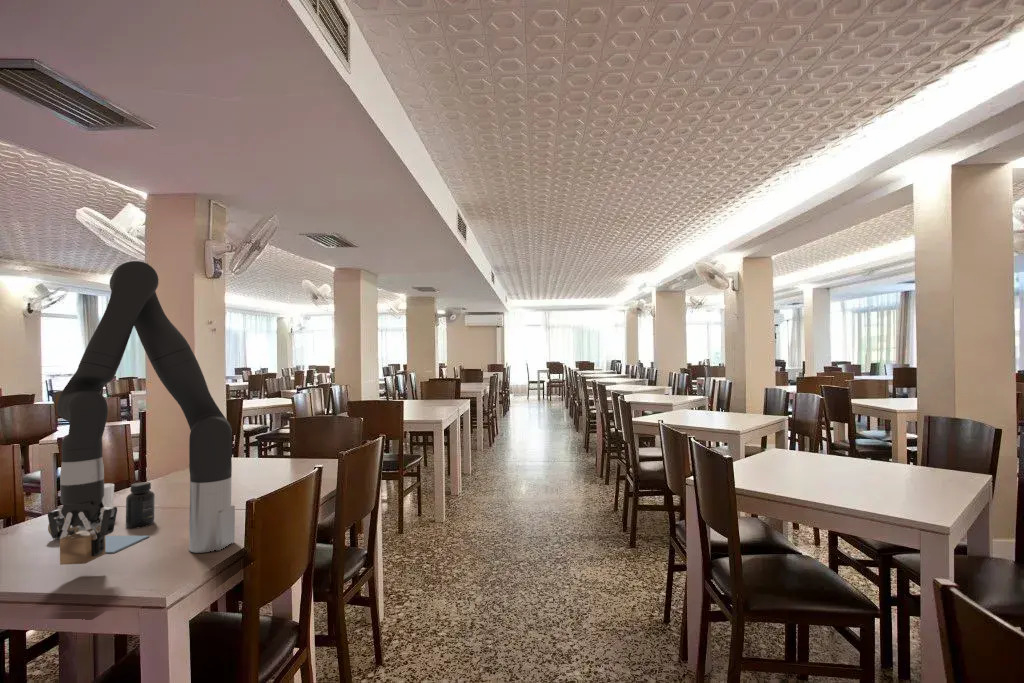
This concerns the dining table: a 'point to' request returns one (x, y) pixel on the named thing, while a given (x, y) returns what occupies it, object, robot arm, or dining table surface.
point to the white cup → (108, 496)
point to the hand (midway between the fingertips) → (83, 555)
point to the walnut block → (77, 548)
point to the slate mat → (120, 542)
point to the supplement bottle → (140, 505)
